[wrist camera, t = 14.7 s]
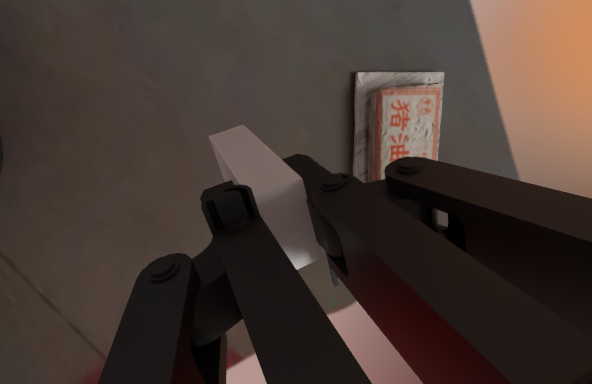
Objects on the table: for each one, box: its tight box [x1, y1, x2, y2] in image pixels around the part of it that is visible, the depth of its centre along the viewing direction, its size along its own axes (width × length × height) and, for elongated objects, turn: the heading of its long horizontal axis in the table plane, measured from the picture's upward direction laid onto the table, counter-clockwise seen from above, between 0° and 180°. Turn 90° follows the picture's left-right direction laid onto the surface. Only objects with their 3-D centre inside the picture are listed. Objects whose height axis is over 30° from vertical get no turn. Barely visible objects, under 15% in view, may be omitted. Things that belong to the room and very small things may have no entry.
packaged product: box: [353, 72, 444, 183], centre depth 40 cm, size 18×5×10 cm
